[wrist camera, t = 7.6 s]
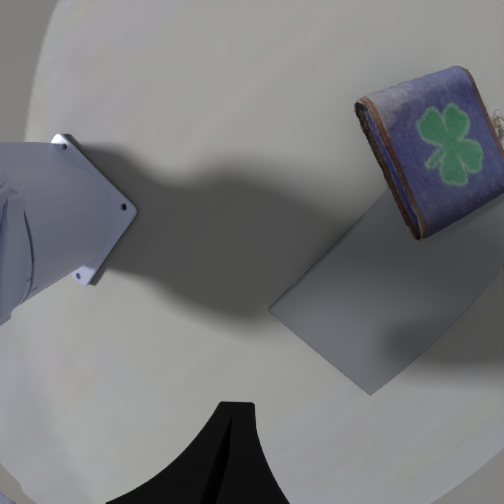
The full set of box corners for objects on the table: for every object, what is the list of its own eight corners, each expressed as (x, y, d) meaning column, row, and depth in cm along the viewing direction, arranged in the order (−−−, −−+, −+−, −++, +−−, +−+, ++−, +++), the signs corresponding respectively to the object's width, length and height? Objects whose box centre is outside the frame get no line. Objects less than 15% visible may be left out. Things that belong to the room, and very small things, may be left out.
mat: (268, 307, 21) (268, 311, 20) (457, 112, 16) (461, 111, 16) (368, 391, 23) (370, 395, 22) (524, 228, 18) (528, 230, 17)
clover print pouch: (358, 95, 14) (480, 56, 12) (347, 108, 17) (461, 68, 15) (426, 246, 15) (532, 181, 13) (407, 238, 18) (509, 180, 16)
